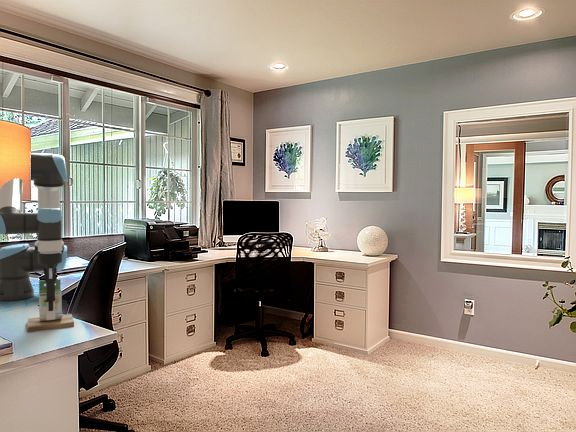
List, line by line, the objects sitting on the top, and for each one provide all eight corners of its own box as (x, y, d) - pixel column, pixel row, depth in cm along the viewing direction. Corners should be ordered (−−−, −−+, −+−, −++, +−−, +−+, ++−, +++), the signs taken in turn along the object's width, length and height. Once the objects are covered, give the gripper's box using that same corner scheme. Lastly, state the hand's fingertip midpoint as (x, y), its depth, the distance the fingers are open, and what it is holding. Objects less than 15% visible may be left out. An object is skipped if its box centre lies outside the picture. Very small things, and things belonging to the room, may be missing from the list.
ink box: (39, 321, 149) (38, 282, 149) (39, 318, 153) (38, 280, 152) (61, 318, 153) (61, 281, 152) (61, 315, 156) (61, 279, 156)
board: (28, 322, 155) (27, 318, 155) (71, 317, 162) (71, 313, 162) (27, 331, 144) (27, 327, 144) (73, 326, 151) (73, 322, 151)
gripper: (37, 249, 157) (38, 313, 158) (37, 255, 143) (38, 325, 144) (61, 248, 161) (61, 310, 162) (63, 254, 146) (63, 322, 147)
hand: (50, 317), depth 153 cm, fingers closed on ink box, 4 cm apart
